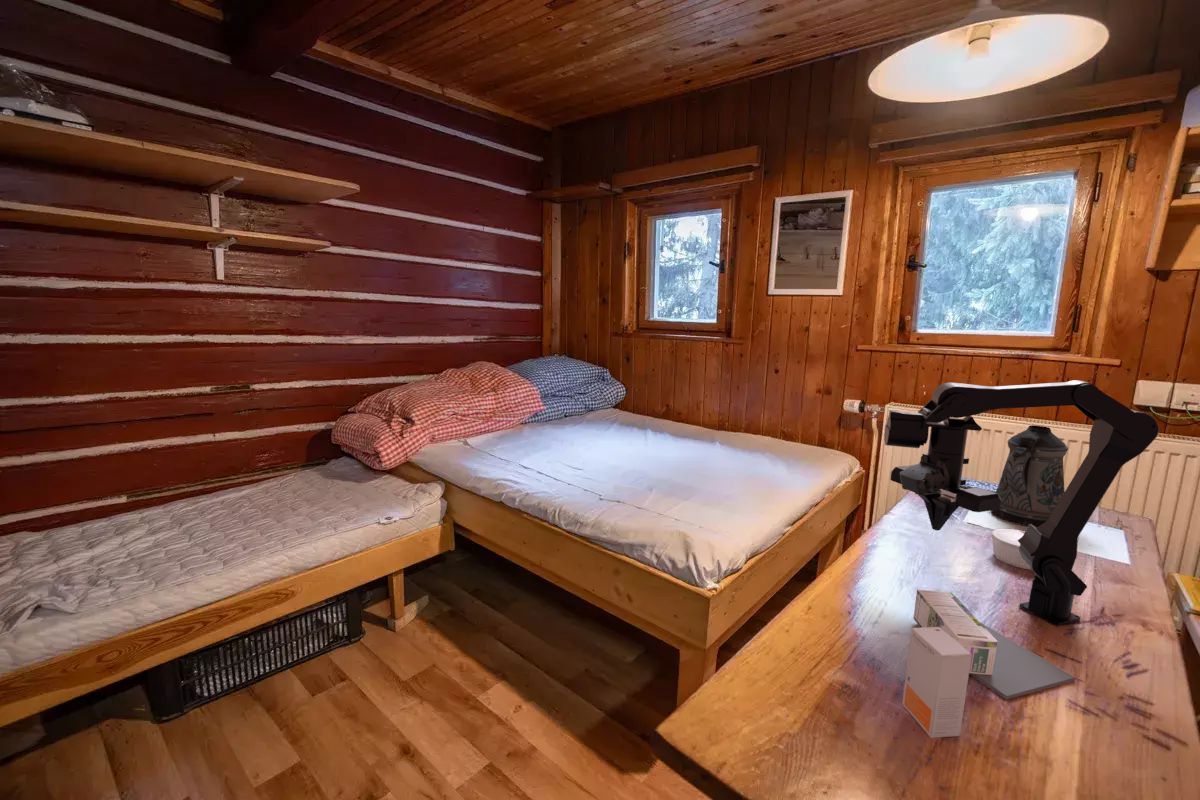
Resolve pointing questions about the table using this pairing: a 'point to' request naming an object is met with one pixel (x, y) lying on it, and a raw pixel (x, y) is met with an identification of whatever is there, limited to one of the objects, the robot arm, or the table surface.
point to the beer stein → (1032, 477)
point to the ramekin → (1008, 547)
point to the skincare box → (936, 681)
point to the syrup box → (957, 627)
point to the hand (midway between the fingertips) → (936, 529)
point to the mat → (1020, 670)
